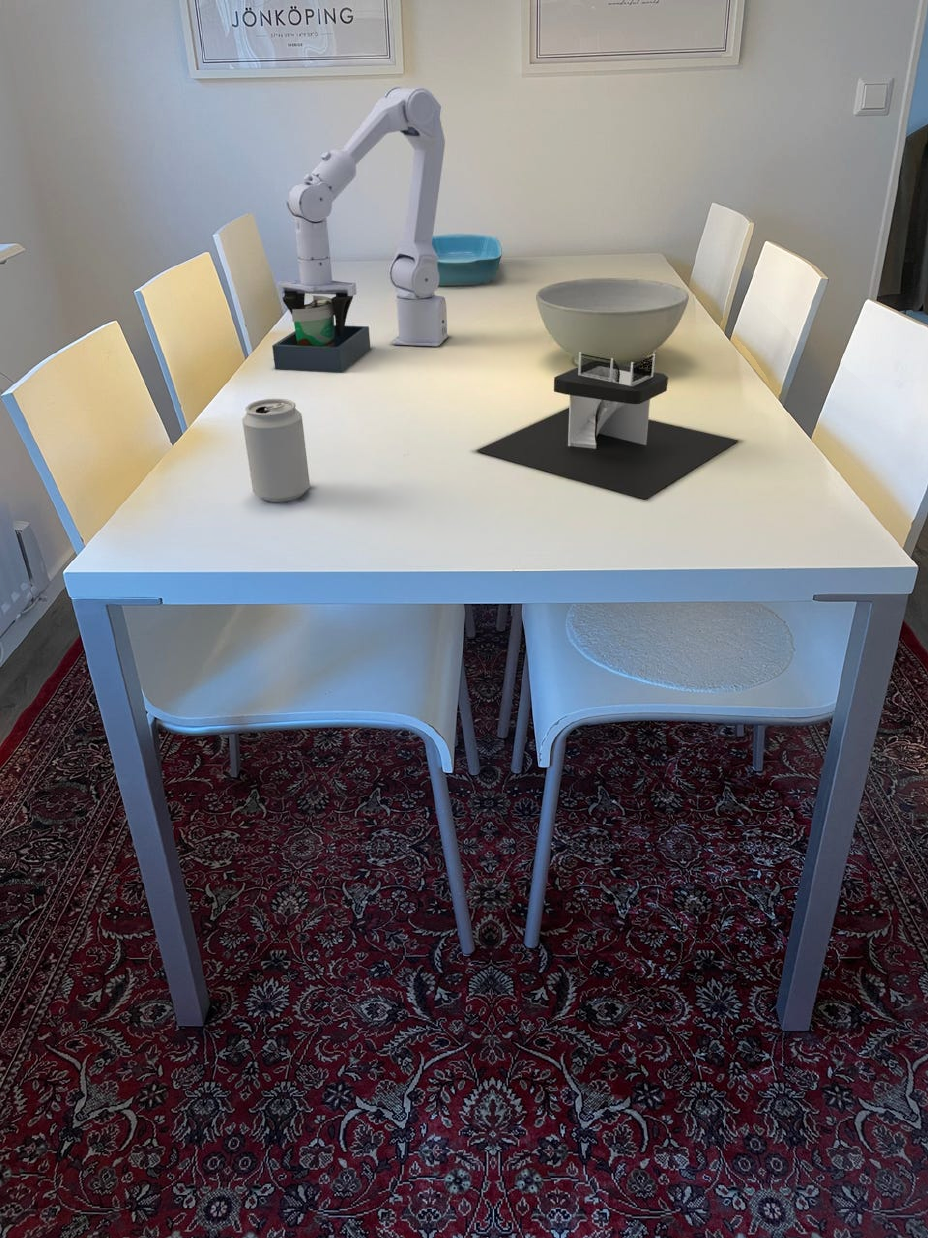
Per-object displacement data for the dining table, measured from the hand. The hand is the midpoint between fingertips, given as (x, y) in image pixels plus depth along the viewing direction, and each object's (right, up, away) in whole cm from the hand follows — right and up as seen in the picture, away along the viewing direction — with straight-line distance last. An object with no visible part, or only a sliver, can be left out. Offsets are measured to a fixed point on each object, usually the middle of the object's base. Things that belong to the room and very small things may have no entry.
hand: (321, 333), depth 176 cm
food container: (0, -4, +2) cm, 4 cm away
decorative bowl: (+53, -6, -3) cm, 54 cm away
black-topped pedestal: (+48, -29, -40) cm, 68 cm away
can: (+3, -37, -52) cm, 64 cm away
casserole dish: (+25, +35, +66) cm, 79 cm away
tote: (0, -4, +2) cm, 5 cm away
